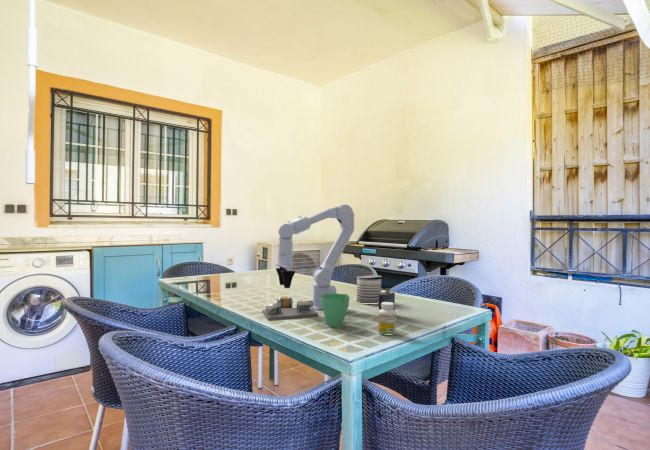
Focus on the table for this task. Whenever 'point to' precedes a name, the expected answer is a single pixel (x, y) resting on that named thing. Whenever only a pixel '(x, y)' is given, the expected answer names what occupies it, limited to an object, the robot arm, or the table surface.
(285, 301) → the coupler
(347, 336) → the table surface
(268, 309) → the shaft
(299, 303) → the shaft
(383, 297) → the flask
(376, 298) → the can
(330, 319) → the green cup
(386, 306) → the supplement bottle
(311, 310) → the base board
